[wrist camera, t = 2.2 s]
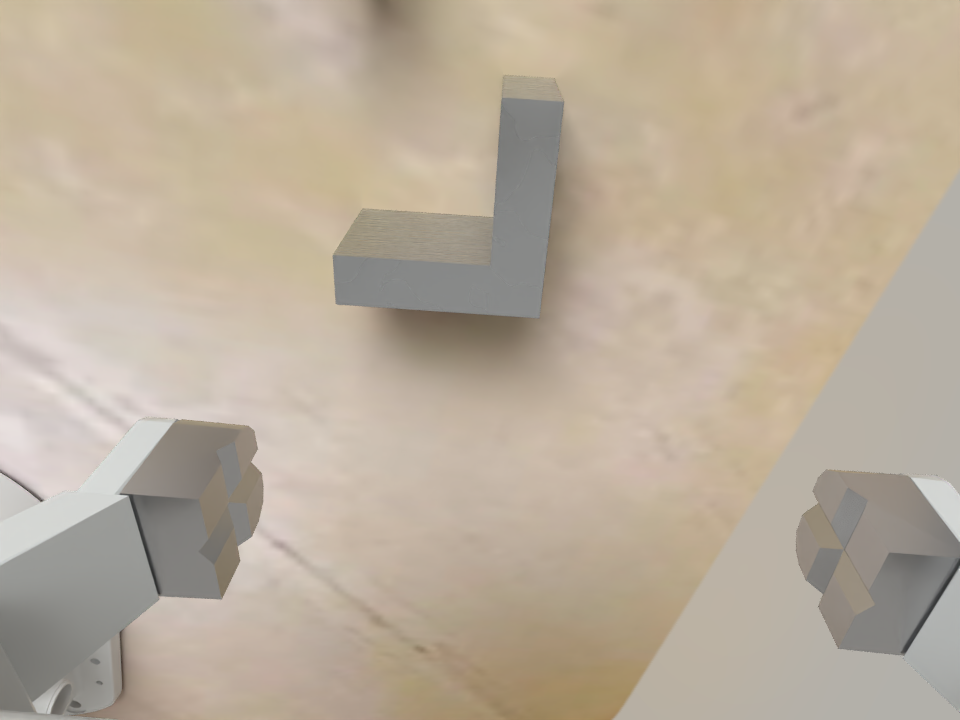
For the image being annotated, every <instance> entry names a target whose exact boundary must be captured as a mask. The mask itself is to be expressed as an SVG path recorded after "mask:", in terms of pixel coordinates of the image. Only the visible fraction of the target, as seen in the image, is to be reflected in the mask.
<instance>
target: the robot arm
mask: <svg viewBox="0 0 960 720" xmlns="http://www.w3.org/2000/svg"><path fill="white" fill-rule="evenodd" d="M257 450H258V447H257V442H256V437H255V432H254V430H253V429H252V428H250V427H249V426H245V425H235V424H224V423H214V422H204V421H193V420H183V419H182V420H178V419H168V418H157V417H146V418H143V419H140V420H138V421H137V422H136V423H135V424H134V425H133V427H132V428H131V429H130V430H129V431H128V432H127V433H126V435H125V436H124V437H123V438H122V439H121V440H120V442H119V443H118V444H117V445H116V446H115V447H114V449H113V450H112V451H111V452H110V453H109V454H108V456H107V457H106V458H105V459H104V460H103V461H102V463H101V464H100V465H99V466H98V467H97V468H96V470H95V471H94V472H93V473H92V474H91V475H90V476H89V478H88V479H87V480H86V481H85V482H84V483H83V485H82V486H81V487H80V488H79V489H78V490H77V491H64V492H62V493H60V494H58V495H55V496H53V497H51V498H49V499H47V500H45V501H43V502H40V501H39V500H38V499H37V498H35V497H34V496H33V495H32V494H31V493H29V492H28V491H27V490H25V489H24V488H23V487H21V486H20V485H19V484H17V483H16V482H14V481H13V480H11V479H10V478H8V477H7V476H5V475H3V474H2V473H0V720H116V719H104V718H92V717H80V716H68V715H77V714H84V713H89V712H94V711H98V710H101V709H104V708H107V707H109V706H111V705H113V704H114V702H115V701H116V699H117V698H118V696H119V695H120V693H121V691H122V672H121V652H120V631H121V630H122V629H124V628H125V627H126V626H127V625H129V624H130V623H131V622H132V621H134V620H135V619H136V618H137V617H139V616H140V615H141V614H142V613H143V612H145V611H146V610H147V609H148V608H150V607H151V606H152V605H153V604H155V603H156V602H157V601H158V600H159V596H166V597H185V598H205V599H222V598H223V596H224V594H225V592H226V589H227V587H228V585H229V583H230V581H231V579H232V577H233V575H234V573H235V571H236V569H237V567H238V565H239V563H240V557H239V552H238V546H239V545H240V544H242V543H243V542H245V541H246V540H248V539H249V538H251V537H252V535H253V533H254V531H255V528H256V526H257V524H258V522H259V518H260V513H261V509H262V504H263V480H262V473H261V472H260V471H259V470H258V469H257V468H256V467H255V466H254V465H253V464H252V463H251V461H252V459H253V457H254V455H255V453H256V452H257ZM813 493H814V495H815V497H816V499H817V501H818V504H817V505H815V506H814V507H812V508H811V509H810V510H808V511H807V512H805V513H804V514H803V515H802V518H801V520H800V523H799V526H798V529H797V532H796V553H797V558H798V562H799V566H800V568H801V570H802V573H803V575H804V577H805V579H806V581H808V582H809V583H810V584H811V585H813V586H814V587H815V588H816V589H818V590H819V591H820V592H821V593H823V596H822V598H821V601H820V603H819V606H818V607H819V609H820V611H821V614H822V616H823V618H824V620H825V622H826V624H827V626H828V628H829V630H830V632H831V634H832V636H833V639H834V641H835V643H836V645H837V647H838V649H847V650H857V651H865V652H875V653H884V654H894V655H903V656H904V657H903V659H904V660H905V661H906V662H907V663H908V664H909V665H910V666H911V667H912V668H913V669H914V670H915V671H916V672H917V673H918V674H920V676H921V677H923V678H924V679H925V680H926V681H927V682H928V683H929V684H930V685H931V686H932V687H933V688H934V689H935V690H936V691H937V692H938V693H939V694H940V695H941V696H943V697H944V698H945V699H946V700H947V701H948V702H949V703H950V704H951V705H952V706H953V707H954V708H955V709H956V710H957V711H958V712H959V713H960V495H959V494H958V493H957V491H956V490H955V489H954V488H953V487H952V485H951V484H950V483H949V482H948V481H946V480H945V479H943V478H941V477H939V476H937V475H919V474H898V475H896V474H884V473H870V472H855V471H841V470H825V471H824V472H823V473H822V474H821V475H820V477H818V480H817V482H816V484H815V486H814V489H813Z"/></svg>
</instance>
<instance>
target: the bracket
mask: <svg viewBox="0 0 960 720" xmlns="http://www.w3.org/2000/svg"><path fill="white" fill-rule="evenodd" d="M563 107H564V100H563V98H562V95H561V93H560V90H559V88H558V86H557V83H556V81H555V78H544V77H528V76H513V75H504V77H503V89H502V101H501V116H500V130H499V145H498V160H497V175H496V189H495V204H494V217H482V216H467V215H452V214H437V213H423V212H408V211H393V210H378V209H364V208H363V209H362V210H361V212H360V213H359V215H358V217H357V218H356V220H355V221H354V223H353V224H352V226H351V227H350V229H349V231H348V232H347V234H346V235H345V237H344V238H343V240H342V241H341V243H340V245H339V246H338V248H337V249H336V251H335V252H334V254H333V266H334V282H335V298H336V304H338V305H353V306H367V307H382V308H396V309H411V310H425V311H440V312H454V313H469V314H483V315H498V316H512V317H527V318H539V317H540V309H541V300H542V291H543V282H544V273H545V265H546V256H547V247H548V238H549V230H550V221H551V212H552V203H553V195H554V186H555V177H556V168H557V160H558V151H559V142H560V133H561V124H562V116H563Z"/></svg>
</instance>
